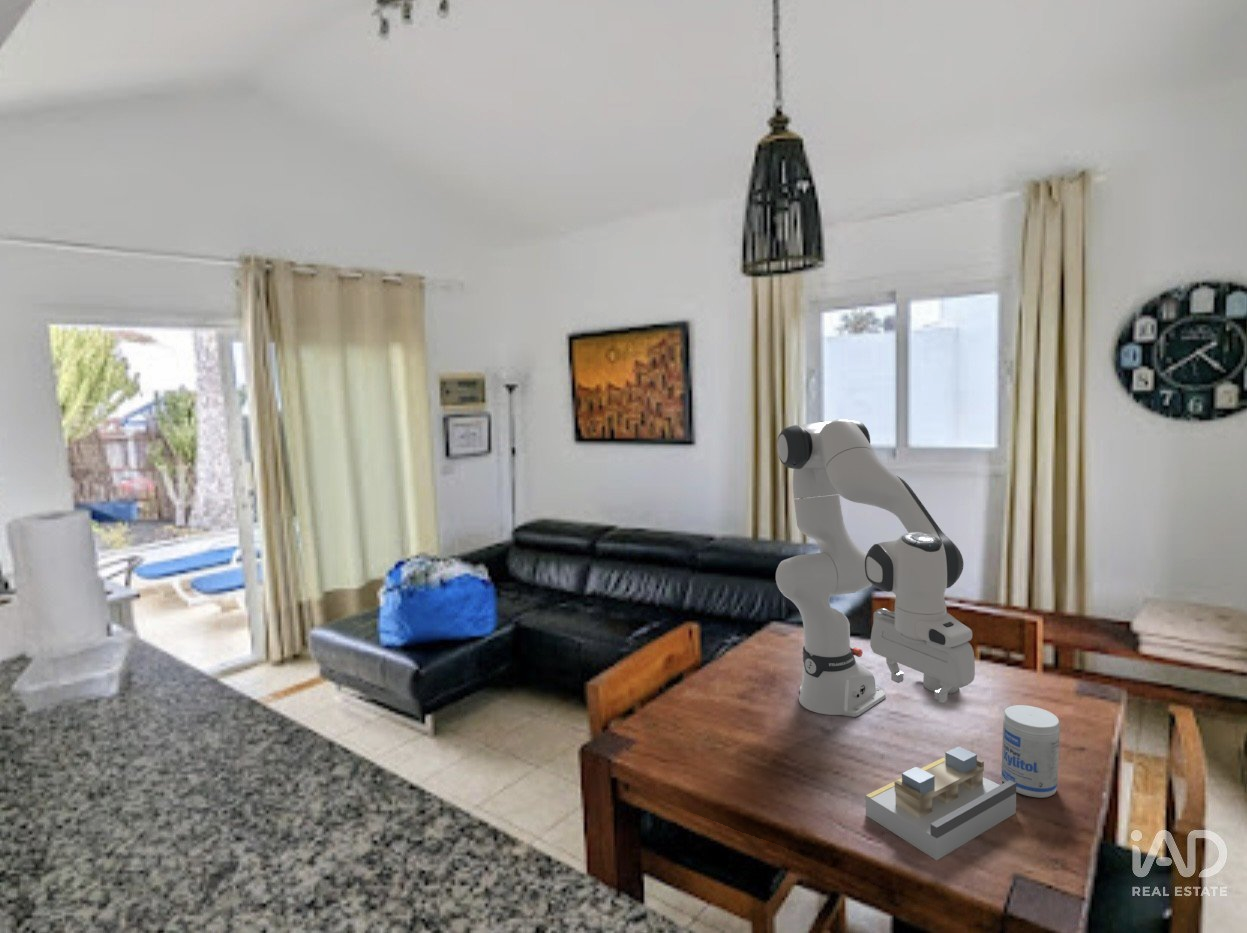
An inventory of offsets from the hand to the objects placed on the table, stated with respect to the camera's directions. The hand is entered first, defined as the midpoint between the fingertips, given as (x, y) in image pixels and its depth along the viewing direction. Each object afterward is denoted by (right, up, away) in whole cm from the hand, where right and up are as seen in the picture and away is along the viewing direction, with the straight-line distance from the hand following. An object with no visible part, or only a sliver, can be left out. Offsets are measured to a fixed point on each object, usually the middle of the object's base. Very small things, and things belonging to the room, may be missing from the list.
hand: (918, 690), depth 131 cm
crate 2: (+8, -15, +1) cm, 17 cm away
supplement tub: (+24, -21, +6) cm, 33 cm away
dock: (+3, -23, -2) cm, 23 cm away
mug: (+27, -15, +52) cm, 60 cm away
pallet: (+3, -19, -2) cm, 19 cm away
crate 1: (-2, -16, -5) cm, 17 cm away
